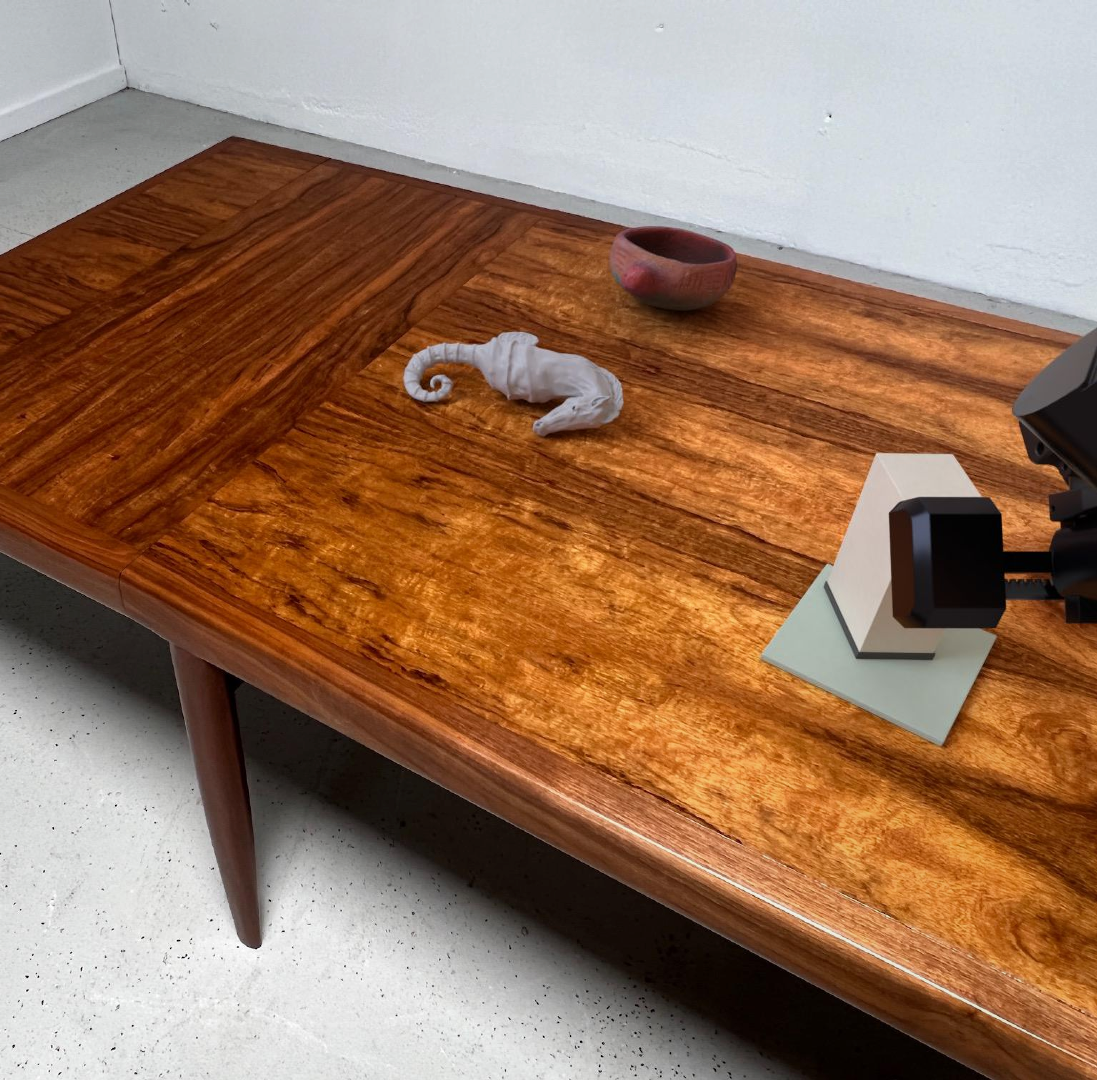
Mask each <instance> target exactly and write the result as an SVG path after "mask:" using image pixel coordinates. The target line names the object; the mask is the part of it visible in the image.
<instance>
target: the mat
mask: <svg viewBox="0 0 1097 1080" xmlns="http://www.w3.org/2000/svg"><path fill="white" fill-rule="evenodd" d="M833 566H834V565H832V564H830V563H826V564H825V566H824V567H823V568H822V570H821V571H820V572H819V574H818V576H816V578H815V579H814V581H813V582H812V584H811V585H810V586H809V587H808V589H807V591H806V592H805V593H804V594H803V596H802V597H801V598H800V600H799V602H798V603H797V604H796V605H795V607H793V609H792V611H791V612H790V614H789V615H788V616H787V618H786V619H785V620H784V622H783V623H782V624H781V626H780V628H779V629H778V630H777V632H776V633H775V634H774V636H773V637H772V639H771V640H770V641H769V642H768V644H767V645H766V647H765V648H764V649H763V651H762V653H761V654H760V656H759V659H760V660H761V661H764V662H766V663H768V664H770V665H772V666H774V667H776V668H778V669H780V670H782V671H784V672H787V673H789V674H790V675H792V676H795V677H797V678H798V679H800V680H803V681H805V682H807V683H809V684H811V685H813V686H816V687H817V688H819V689H821V690H823V691H826V692H827V693H829V694H832V695H834V696H835V697H838V698H840V699H842V700H844V701H846V702H847V703H850V704H852V705H855V706H857V707H859V708H860V709H863V710H865V711H867V712H869V713H871V714H873V715H875V716H877V717H879V718H881V719H883V720H885V721H887V722H889V723H892V724H893V725H896V726H898V727H900V728H902V729H904V730H906V731H907V732H910V733H912V734H914V735H916V736H917V737H920V738H923V740H926V741H928V742H930V743H932V744H934V745H936V746H939V747H943V745H944V744H945V741H946V739H947V737H948V736H949V733H950V731H951V729H952V727H953V725H954V724H955V722H956V719H957V717H958V715H959V714H960V711H961V710H962V707H963V705H964V703H965V701H966V699H967V697H968V696H969V694H970V692H971V689H972V687H973V685H974V684H975V682H976V679H977V678H978V676H979V674H980V672H981V670H982V668H983V666H984V663H985V661H986V660H987V658H988V655H989V653H990V651H991V649H992V647H993V645H994V644H995V642H996V640H997V638H998V636H997V635H996V634H994V633H991V632H989V631H987V630H984V629H970V628H946V629H945V631H944V633H943V635H942V637H941V639H940V641H939V643H938V645H937V647H936V649H935V651H934V652H935V656H934V658H933V660H900V659H856V658H855V656H854V653H853V651H852V649H851V647H850V645H849V642H848V640H847V638H846V636H845V633H844V631H843V629H842V627H841V625H840V622H839V620H838V618H837V616H836V614H835V611H834V609H833V607H832V605H831V602H830V600H829V598H828V596H827V594H826V591H825V589H824V584H825V581H828V579H829V576H830V574H831V571H832V568H833Z"/></svg>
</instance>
